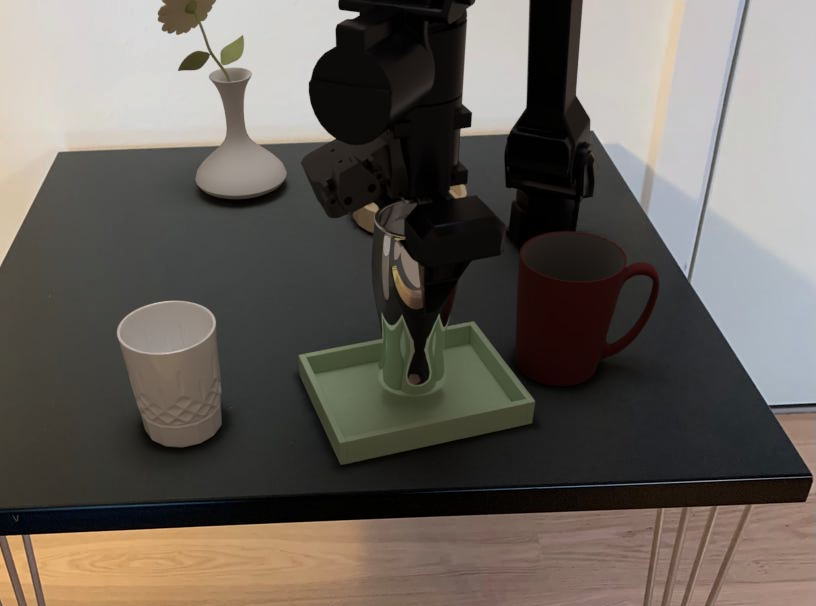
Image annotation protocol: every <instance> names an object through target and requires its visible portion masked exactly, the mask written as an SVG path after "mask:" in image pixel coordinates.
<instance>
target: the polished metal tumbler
mask: <svg viewBox="0 0 816 606" xmlns="http://www.w3.org/2000/svg"><path fill="white" fill-rule="evenodd" d="M416 206H417V204H416V203H414V204H405V203H404V202H403V201H402V200H397V201H393V202H391V203H388V204H386V205H384V206H382V207H381V208H380V209H379V210H378V211H377V212H376V213H375V216H374V232H373V233H372V245H371V247H372V249H371V284H372V289H373V295H374V296H373V298H374V303H375V308H376V312H377V313H376V314H377V317H378V323H379V329H380V334H381V339H382V351H381V357H380V361H379V366H378V371H377V377H378V381H379V383H380V384H381V385H382V387H384V388H385V389H386V390H388V391H389V392H391V393H394V394H396V395H400V396H405V397H420V396H425V395H429V394H432V393H434V392H436V391H437V390H439V389H440V388H441V387H442V386H443V385H444V384H445V382H446V379H447V368H446V362H445V355H444V341H445V334H446V330H447V326H449V322H450V318H451V314H452V311H453V307H454V302H455V300H456V294H457V289H458V285H459V280H458V281H457V283H456V285H455V286H454V288H453V289H452V291H451V293H450V294H449V296H448V297H447V299H446V300H445V302H444V304H443V305H442V307H441V308H440V310H439V311H438V312H435V313H430V314H427V313H426V312H425V311H424V306H423V300H422V294H421V286H420V277H419V269H418V262H416V261H414V260H413V259H412V258H411V257H410V256H409V254H408V253H407V252H406V250H405V249H404V248H403V246H402V245H401V244H400V242H399V240H403V239H405V235H404V219H405V218H406V217H407V216H408V215H409V214H410V212H411V211H412V210H413V209H414V208H415V207H416Z"/></svg>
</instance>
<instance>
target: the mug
mask: <svg viewBox="0 0 816 606" xmlns="http://www.w3.org/2000/svg"><path fill="white" fill-rule="evenodd" d="M518 258H519V259H518V260H519V261H518V269H517V284H516V312H515V315H516V318H515V352H514V353H515V358H514V359H515V365H516V367H517V369H518V370H519V372H520V373H521V374H522V375H524V376H525V377H527V378H528V379H530V380H532V381H534V382H536V383H540V384H542V385H543V384H544V385H547V386H554V387H569V386H575V385H579V384H582V383H584V382H586V381H588V380H590V379H591V378H592V377H593V376H594V374H595V373H596V371H597V369H598V365H599V362H600V361H602V360H605V359H607V358H610V357H612V356H615V355H617V354H619V353H620V352H622V351H623V350H625V349H626V348H627V347H628V346H629V345H630V344H632V343H633V342H634V340H636V338H638V336H639V335H640V334H641V332H642V331H643V329H644V327H645V326H646V325H647V323H648V321H649V319H650V317H651V315H652V313H653V311H654V308H655V306H656V303H657V300H658V296H659V291H660V276H659V273H658V271H657V269H656V268H655V266H654V265H653V264H651V263H649V262H645V261H641V262H634V263H632V264H630V265H628V266H627V263H628V258H627V255H626V253H625V251H624V250H623V249H622V248H621V246H619V245H618V244H617V243H615V242H613V241H611V240H609V239H608V238H605V237H602V236H600V235H597V234H592V233H588V232H582V231H576V232H572V231H561V232H551V233H545V234H542V235H538V236H536V237H534V238H532V239H530V240H528V241H527V242H526V243H525V244H524V245H523V246H522V248H520V250H519V257H518ZM637 276H646V277H647V278H650V279H651V280H652V286H651V291H650V294H649V296H648V299H647V302H646V305H645V306H644V308H643V311H642V313H641V314H640V316H639V318H638V319H637V321H636V322H635V323H634V325H633V326H632V327H631V328H630V329H629V330H628V331H627V332H626V333H625V334H624V335H623V336H621V337H620V338H619V339H617V340H616V341H614V342H611V343H608V342H607V336H608V332H609V329H610V326H611V323H612V320H613V316H614V313H615V310H616V307H617V302H618V300H619V296H620V294H621V290H622V288H623V287H624V285H625V284H626V282H627V281H628V280H630V279H631V278H633V277H637Z"/></svg>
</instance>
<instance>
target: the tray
mask: <svg viewBox="0 0 816 606" xmlns="http://www.w3.org/2000/svg"><path fill="white" fill-rule="evenodd" d="M381 351H382V338H379V339H374V340H369V341H364V342H358V343H352V344H349V345H348V344H347V345H342V346H337V347H333V348H327V349H322V350H316V351H313V352H307V353H302V354H298V368H299V377H300V379H301V381H302V384H303V386H304V388H305V390H306V393H307V395H308V397H309V399H310V401H311V404H312V406H313V408H314V410H315V412H316V414H317V416H318V419H319V421H320V423H321V425H322V427H323V430H324V432H325V434H326V436H327V439H328V441H329V443H330V445H331V447H332V450H333V452H334V454H335V457H336V458H337V460H338V463H339V465H340V466H343V465H348V464H353V463H356V462H357V463H358V462H361V461H367V460H370V459H371V460H372V459H375V458H380V457H385V456H389V455H393V454H399V453H403V452H409V451H412V450H417V449H421V448H426V447H430V446H435V445H439V444H444V443H449V442H452V441H457V440H463V439H467V438H472V437H477V436H480V435H486V434H490V433H494V432H495V433H496V432H499V431H504V430H508V429H512V428H518V427H522V426H528V425H531V424H533V419H534V415H535V414H534V412H535V406H536V400H535V399H534V397H533V396H532V395H531V394H530V392H529V391H528V390H527V388H526V387H525V386H524V385H523V384H522V382H521V381H520V379H519V378H518V376H517V375H516V374H515V373H514V371H513V370H512V369H511V368H510V366H509V365H508V364H507V362H506V361H505V360H504V359H503V357H502V355H500V353H499V352H498V351H497V349H496V348H495V346H494V345H493V343H491V341H490V340H489V339H488V337H487V336H486V335H485V333H484V332H483V331H482V330H481V329H480V327H479V326H478V324H477V323H476V322H475V321H474V320H473V321H468V322H462V323H457V324H452V325H448V326H447V330H446V334H445V341H444V355H445V362H446V368H447V379H446V382H445V384H444V385H443V386H442V387H441V388H440V389H439V390H437V391H436V392H434V393H432V394H429V395H425V396H420V397H405V396H400V395H396V394H394V393H391V392H389V391H388V390H386V389H385V388H384V387H382V385H381V384H380V383H379V381H378V377H377V371H378V366H379V361H380V357H381Z"/></svg>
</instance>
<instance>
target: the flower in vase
mask: <svg viewBox="0 0 816 606" xmlns="http://www.w3.org/2000/svg"><path fill="white" fill-rule="evenodd" d="M161 2H162V3H163V4H164V5H161V6H160V7H159V9H158V11H157V16H158V17H157V22H158V23H161V24H162V27H161V31H162V32H167V34H169V35H172V34H173V33H175V35H176V36H180V35H183V34H187V33H189V32H190V31H191V30H192V29H195V28H197V27H198V26H199V28H200V32H201V34H202V37H203V40H204V43H205V47H206V49H207V51H208V52H207V51H204V50H203V51H202V50H196V51H193V52H191V53H189V54H188V55H187V56H185V58H183V60H182V61H181V63H180V64H179V67H178V69H177V71H178V72H181V71H198V70H200V69H202V68H203V67H204V66H205V64H207V62H208V60H209V59H210V56H211V57H212V59H213V60H214V62H215V63H216V64H217V66H218V67H219V69H216V70H214V71H212V72H210V74H209V75H208V79H209V81H211V82H212V84H213V85H214V86H215V87H216V90H217V92H218V93H219V96H220V99H221V102H222V106H223V112H224V117H225V125H226V127H225V128H226V132H225V133H226V134H225V137H224V140H223V141H222V143H221V144H220V145H219V146H218V147H217V148H216V149H214V150H213V151H212V152H211V153H210V154H209V155H208V156H207V157H206V158H205V159H204V160H203V162H202V163H201V164H200V165H199V167H198V168H197V170H196V173H195V174H196V175H195V183H196V185H197V186H198V187H199V188H200V189H201V190H202V191H203V192H204V193H205V194H207V195H209V196H212V197H215V198H219V199H227V200H246V199H252V198H258V197H261V196H264V195H267V194H270V193H271V192H274V191H275V190H278V188H280V187H281V186H282V184H283V183H284V181H285V179H286V177H287V174H288V173H287V169H286V168H285V165H284V163H283V161H282V160H280V159H279V157H277V156H276V155H275V154H274V153H272V152H271V151H269V150H268V149H266V148H265V147H263V146H262V145H259V143H256V142H255V141H254V140H253V139H252V138H251V137H250V136H249V134H248V131H247V127H246V121H245V94H246V89H247V86H248V83H249V81H250V80H251V78H252V76H253V72H252V71H251V70H250V69H247V68H243V67H224V66H228V65H230V64H233V63H234V62H237V61H239V59H241V58H242V56H243V54H244V48H245V38H244V37H245V36H244V35H243V34H242V35H241V36H239V37H238V38H236V39H235V40H234V41H232V42H230V43H229V44H227V45H225V46H224V47H223V48H222V49H221V50H220V56H219V57H220V58H219V59H220V61H219V59H218V58H217V57H216V55H215V54H214V52H213V51H212V48H211V46H210V43H209V41H208V37H207V34H206V32H205V28H204V26H203V24H202V22H204V21H206V20H207V18H208V15H209V14H208V13H211V11H212V9H213V5H215V3H216V2H217V0H161Z"/></svg>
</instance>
